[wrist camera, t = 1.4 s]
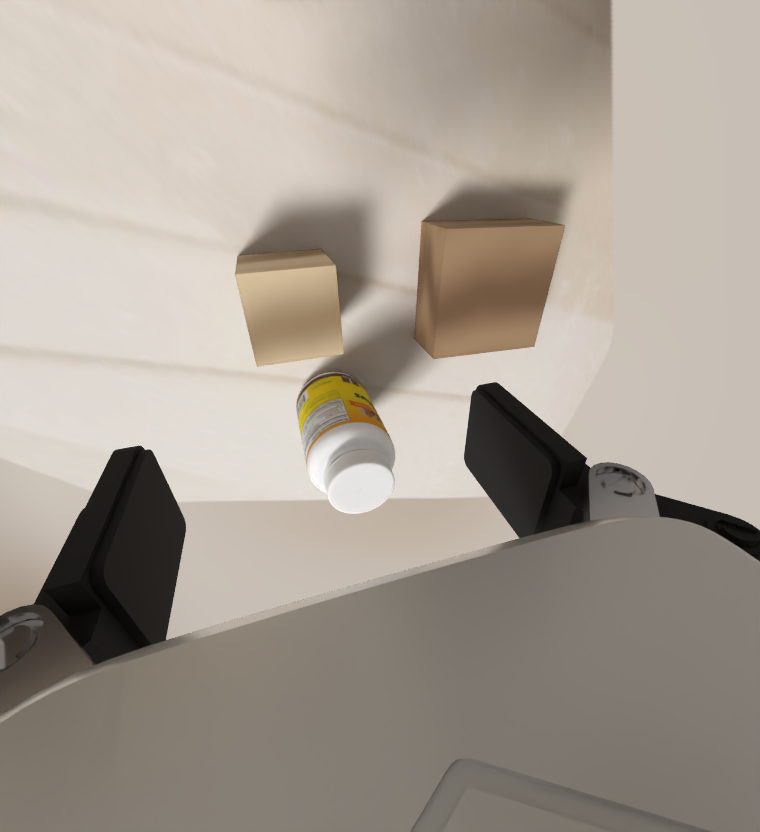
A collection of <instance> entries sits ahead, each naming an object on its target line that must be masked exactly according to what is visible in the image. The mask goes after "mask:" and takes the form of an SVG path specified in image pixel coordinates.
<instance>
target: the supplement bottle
mask: <svg viewBox="0 0 760 832" xmlns="http://www.w3.org/2000/svg"><path fill="white" fill-rule="evenodd" d="M296 407H297V415H298V421H299V427H300V432H301V438H302V443H303V448H304V454H305V459H306V464H307V469H308V473H309V476H310V478H311V480H312V482H313V483H314V485H315V486H316V487H317V488H318V489H320V490H321V491H323V492H324V493H326V494H327V496H328V499H329V501H330V503H331V504H332V506H333V507H334V508H336V509H337V510H339V511H341V512H345V513H350V514H357V513H364V512H367V511H370V510H372V509H374V508H377V507H378V506H380V505H381V504H382V503H384V502H385V501H386V500H387V499H388V498H389V496H390V495H391V493H392V491H393V489H394V485H395V479H394V475H393V472H392V468H393V465H394V461H395V449H394V445H393V443H392V440H391V438H390V436H389V434H388V433H387V431H386V429H385V427H384V425H383V423H382V421H381V419H380V417H379V415H378V413H377V411H376V410H375V408H374V406H373V404H372V402H371V400H370V398H369V396H368V394H367V392H366V391H365V389H364V387H363V386H362V384H361V383H360V382H359V381H358V380H357V379H355V378H354V377H352V376H350V375H348V374H345V373H341V372H328V373H323V374H320V375H318V376H316V377H314V378H312V379H311V380H310V381H308V382H307V383H306V384H305V385H304V387H303V388H302V389H301V391H300V393H299V395H298V398H297V405H296Z"/></svg>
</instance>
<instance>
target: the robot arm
mask: <svg viewBox="0 0 760 832" xmlns="http://www.w3.org/2000/svg"><path fill="white" fill-rule="evenodd" d="M464 460H465V464H466V466H467V467H468V469H469V470H470V472H471V473H472V474H473V476H474V477H475V478H476V480H477V481H478V482H479V484H480V485H481V486H482V488H483V489H484V490H485V492H486V493H487V495H488V496H489V497H490V499H491V500H492V501H493V503H494V504H495V505H496V507H497V508H498V509H499V511H500V512H501V513H502V515H503V516H504V518H505V519H506V520H507V522H508V523H509V524H510V526H511V527H512V528H513V530H514V531H515V533H516V534H517V535H518V537H519V539H515V540H512V541H508V542H505V543H501V544H497V545H494V546H490V547H487V548H483V549H480V550H476V551H472V552H469V553H465V554H462V555H458V556H454V557H451V558H448V559H444V560H441V561H437V562H433V563H429V564H426V565H423V566H419V567H415V568H412V569H408V570H405V571H401V572H398V573H394V574H391V575H387V576H384V577H380V578H377V579H373V580H370V581H366V582H363V583H359V584H356V585H353V586H349V587H345V588H342V589H338V590H335V591H331V592H328V593H324V594H321V595H317V596H314V597H311V598H307V599H303V600H300V601H297V602H293V603H290V604H286V605H283V606H279V607H276V608H273V609H269V610H266V611H262V612H259V613H256V614H252V615H249V616H245V617H242V618H238V619H234V620H231V621H228V622H224V623H221V624H218V625H215V626H211V627H208V628H205V629H201V630H198V631H195V632H192V633H188V634H185V635H182V636H178V637H175V638H172V639H169V640H166V635H167V630H168V624H169V618H170V614H171V608H172V603H173V597H174V592H175V587H176V581H177V576H178V570H179V564H180V559H181V554H182V549H183V543H184V538H185V532H186V524H185V519H184V517H183V515H182V513H181V511H180V508H179V506H178V504H177V502H176V500H175V498H174V496H173V494H172V491H171V489H170V487H169V485H168V483H167V481H166V479H165V477H164V475H163V472H162V470H161V468H160V466H159V464H158V462H157V460H156V458H155V456H154V454H153V452H152V451H151V450H144V448H143V447H142V446H135V447H129V448H123V449H118V450H115V451H114V452H113V453H112V455H111V457H110V459H109V461H108V463H107V465H106V467H105V469H104V471H103V473H102V475H101V477H100V479H99V481H98V483H97V485H96V487H95V489H94V491H93V493H92V495H91V497H90V499H89V501H88V503H87V505H86V507H85V508H84V509H83V510H82V511H81V513H80V514H79V516H78V518H77V520H76V522H75V524H74V526H73V528H72V530H71V532H70V534H69V536H68V538H67V540H66V542H65V544H64V546H63V548H62V550H61V552H60V554H59V555H58V558H57V559H56V561H55V564H54V565H53V567H52V569H51V572H50V573H49V575H48V577H47V579H46V581H45V583H44V585H43V587H42V589H41V591H40V593H39V595H38V597H37V599H36V601H35V603H34V604H32V605H27V606H22V607H19V608H16V609H13V610H11V611H8V612H6V613H4V614H3V615H1V616H0V832H760V530H758V529H757V528H756V527H754V526H753V525H751V524H749V523H748V522H746V521H744V520H741V519H739V518H736V517H733V516H731V515H728V514H724V513H721V512H717V511H713V510H710V509H706V508H703V507H699V506H696V505H692V504H688V503H685V502H681V501H677V500H674V499H670V498H667V497H663V496H660V495H656V494H654V489H653V487H652V485H651V483H650V482H649V481H648V479H647V478H646V477H645V476H643V475H642V474H641V473H639V472H638V471H636V470H634V469H632V468H630V467H627V466H624V465H621V464H617V463H608V462H607V463H599V464H596V465H594V466H593V467H591V468H590V467H589V466H587V465H586V464H585V462H586V460H587V458H586V457H585V456H584V455H582V454H581V453H580V452H579V451H578V450H577V449H575V448H574V447H573V446H572V445H571V444H569V443H568V442H567V441H566V440H565V439H564V438H562V437H561V436H560V435H559V434H558V433H556V432H555V431H554V430H553V429H552V428H551V427H549V426H548V425H547V424H546V423H545V422H543V421H542V420H541V419H540V418H539V417H538V416H536V415H535V414H534V413H533V412H532V411H530V410H529V409H528V408H527V407H526V406H525V405H523V404H522V403H521V402H520V401H519V400H517V399H516V398H515V397H514V396H513V395H512V394H510V393H509V392H508V391H507V390H506V389H504V388H503V387H502V386H501V385H500V384H498V383H497V382H494V383H488V384H483V385H479V386H478V387H477V388H476V390H475V391H473V392H472V396H471V404H470V412H469V420H468V428H467V436H466V445H465V453H464Z"/></svg>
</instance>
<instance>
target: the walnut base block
mask: <svg viewBox="0 0 760 832" xmlns="http://www.w3.org/2000/svg"><path fill="white" fill-rule="evenodd" d="M564 228H565V225H561V224H556V223H550V222H545V221H539V220H534V219H494V220H456V221H422V225H421V241H420V257H419V273H418V289H417V305H416V321H415V337H414V339H415V340H416V341H417V342H418V343H419V344H420V345H421V346H422V347H423V348H424V349H425V350H426V351H427V353H428V354H429V355H430V356H431V357H432V358H433V359H437V358H445V357H453V356H462V355H470V354H478V353H486V352H494V351H503V350H511V349H519V348H527V347H534V345H535V341H536V338H537V334H538V330H539V326H540V322H541V318H542V314H543V310H544V306H545V302H546V298H547V295H548V291H549V287H550V283H551V279H552V275H553V271H554V267H555V263H556V259H557V255H558V252H559V248H560V244H561V240H562V236H563V232H564Z"/></svg>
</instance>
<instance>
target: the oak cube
mask: <svg viewBox="0 0 760 832" xmlns="http://www.w3.org/2000/svg"><path fill="white" fill-rule="evenodd" d="M235 277H236V281H237V285H238V289H239V293H240V298H241V302H242V306H243V310H244V314H245V319H246V323H247V327H248V331H249V336H250V340H251V344H252V348H253V352H254V357H255V361H256V365H257V367H258V366H265V365H272V364H279V363H286V362H293V361H300V360H306V359H313V358H320V357H327V356H334V355H341V354H344V352H343V341H342V329H341V318H340V307H339V296H338V284H337V273H336V265H335V264H334V263H333V262H332V260H331V259H330V258H329V257H328V256H327V255H326V254H325V252H324V251H323V250H322V249H313V250H300V251H288V252H276V253H263V254H251V255H239V256H238V257H237V264H236V271H235Z"/></svg>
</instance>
